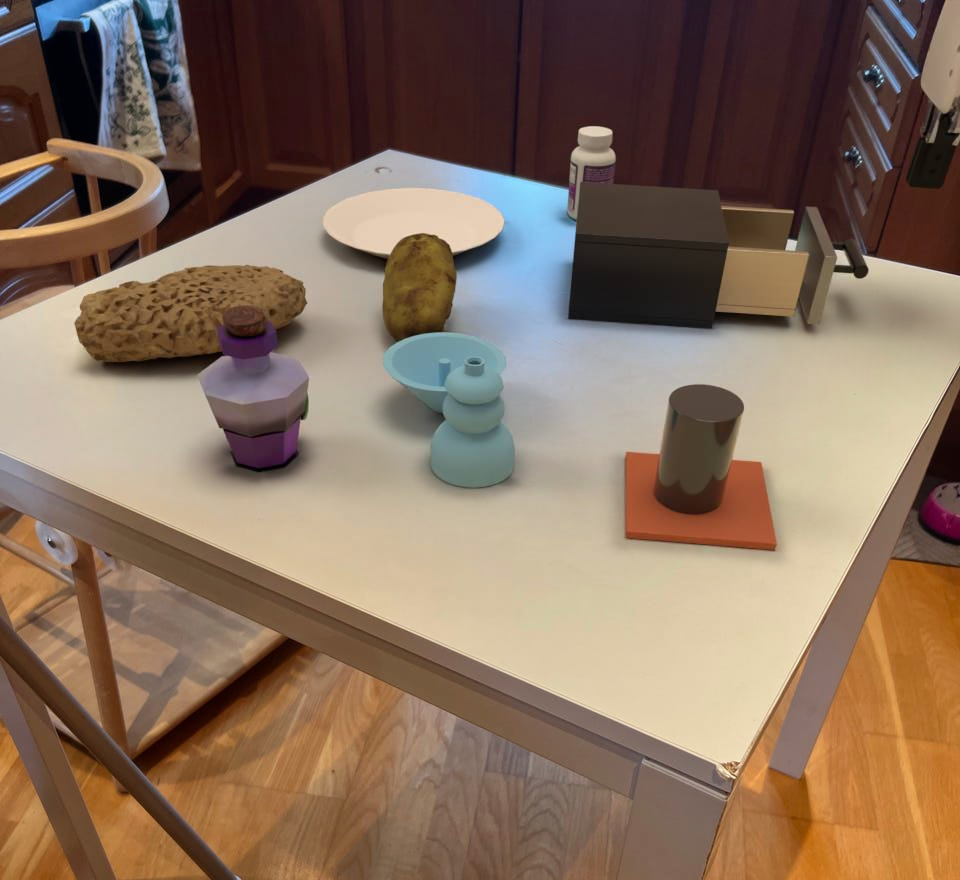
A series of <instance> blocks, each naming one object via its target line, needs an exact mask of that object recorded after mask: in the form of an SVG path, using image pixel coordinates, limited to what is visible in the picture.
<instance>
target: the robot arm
mask: <svg viewBox="0 0 960 880" xmlns="http://www.w3.org/2000/svg"><path fill="white" fill-rule="evenodd" d="M920 87H921V90H922V91H923V93H924V94H925V95H926V96H927V98H926V102H927V105H926V108H925V111H924V115H923V119H922V123H921V127H920V129H919V136H918V137H917V141H916V144H915V146H914V150H913V153H912V156H911V159H910V162H909V165H908V168H907V171H906V175H905V181H906V183H907V184H908V186H909V187H910V188H919V189H920V188H921V189H931V190H932V189H933V190H939V189H941V188H942V187H943V186H944V185H945V181H946V178H947V175H948V172H949V169H950V167H951V163H952V161H953V158H954V156H955V152H956V150H957V147H958V145H959V143H960V0H945V1H944V4H943V6H942V9H941V12H940V15H939V17H938V20H937V23H936V25H935V29H934V32H933V35H932V39H931V41H930V43H929V47H928V50H927V54H926V57H925V61H924V64H923V68H922V72H921V77H920Z"/></svg>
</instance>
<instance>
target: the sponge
mask: <svg viewBox="0 0 960 880" xmlns="http://www.w3.org/2000/svg"><path fill="white" fill-rule="evenodd" d="M306 292H307V291H306V287H305V286H304V281H302V280H300V279H297V278H295V277H293V276H291V275H289V274H286V273H284V271H283V270H281V269H279V268H276V267H270V266H267V265H266V266H259V265H258V266H257V265H250V264H245V265H240V264H239V265H237V264H236V265H204V266H203V265H202V266H192V267H184V269H181V270H177V271H175V272H170V273H167V274H164V275H162V276H161V277H158V278H157V279H155V280H154V281H153V280H152V281H150V282H144V283H142V282H139V281H138V280H132V281H131V280H130V281H126V282H123V283H120V284H119V285H118V287H117V286H115V287H112V288H108V289H102V290H98V291H96V292H94V293H88V294H86V295H84V296H83V297H82V300H81V302H80V303H79V310H80V314H79V315H78V316H77V318H76V319H75V321H74V322H73V324H74V327H75V331H76V335H77V339H78V342H79V343H80V344H81V345H82V347H83V348H84V349H85V352H87V353H88V355H89V356H90V357H91V359H93V360H95V361H97V362H102V361H103V362H105V363H123V362H125V363H126V362H127V363H128V362H143V361H148V360H156V359H158V358H165V359H173V358H176V357H192V356H199V355H205V354H207V355H211V354H216V353H221V352H222V350H221V348H220V345H219V340H218V334H217V329H218V328H219V327H221V326H222V325H224V323H223V319H222V314H223V313H224V312H225V311H226V310H227V309H230V308H232V307H236V306H247V305H250V306H257V307H259V308H261V309H262V310H263V314H264V315H265V317H266V320H267V321H271V323H272V325H273V327H274V328H275V330H276V331H277V330H278V329H280V328H283V327H286V326H287V325H289V324H291V323H292V321H293V320H294V319H295V318H297V317H298V316H300V315H301V314H302V313H303V311H304V309H305V308H306V306H307V305H308V301H307V299H306V294H307V293H306ZM222 353H223V352H222Z"/></svg>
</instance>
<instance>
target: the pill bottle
mask: <svg viewBox="0 0 960 880" xmlns="http://www.w3.org/2000/svg"><path fill="white" fill-rule="evenodd" d="M612 143H613V130H612V129H610V128H609V127H604V126H599V125H598V126H595V125H591V126H589V125H588V126H584V127H581V128H579V129H578V135H577V144H578V146H576V147H575V148H574V149H573V151H572V152H571V155H570V166H569V167H570V168H569V180H568V181H569V182H568V193H567V194H568V195H567V208H566V209H567V210H566V211H567V215H568V216H569V217H570V218H572V219H573V220H575V221H577V212H578V201H579V191H580V182H586V183H603V184H614V180H615V171H616V162H617V161H616V160H617V156H616V153H615V151H614V150H613V149H612V148H611V145H612Z"/></svg>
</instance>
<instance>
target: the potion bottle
mask: <svg viewBox="0 0 960 880" xmlns="http://www.w3.org/2000/svg"><path fill="white" fill-rule="evenodd" d="M222 319H223V323H224V325H222V326H221V327H219V328H218V329H217V334H218V340H219V345H220V348H221V350H222V355H221V356H220V357H219V358H217V359H216V360H215V361H214V362H212V363H211V364H210V365H208V366H207V367H206V368H204V369H202V371H199V373H197V374H196V375H197V378H198V381H199V383H200V386H201V388H202V391H203V393H204V396H205V398H206V401H207V403H208V405H209V407H210V410H211V412H212V414H213V417H214V419H215V422H216V424H217V426H218V429H222V431H223V433H224V435H225V438H226V440H227V442H228V444H229V447H230V449H231V451H230V455H231V457H232V460H233V462H234V465H235V467H238V468H239V467H240V468H243V469H245V470H246V469H247V470H250V471H253V472H257V473H261V472H266V471H272V470H276V469H277V470H278V469H282V468H286V467H287V466H288V465H289V464H290V463H291V462H293V460H294V459H295V458H297V456H299V455H300V452H299V451H298V442H299V433H300V426H301V421H305V420H306V419H307V417H308V414H309V407H310V406H309V405H310V404H309V403H310V402H309V401H310V400H309V393H308V391H309V390H308V389H309V382H310V377H309V375H308V372H307V371H306V369H305V367H304V366H303V363H302V362H301V360H300V359H299V358H298V357H294V356H290V355H286V354H282V353H277V352H273V351H274V350H275V349H277V348H278V347H279V344H278V337H277V329H276V330H275V328H274V327H273V325H272V323H271V321H267V320H266V317H265V315H264V314H263V310H262V309H261V308H259V307H257V306H250V305H247V306H236V307H232V308H230V309H227V310H226V311H225V312H224V313H223V314H222Z"/></svg>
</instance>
